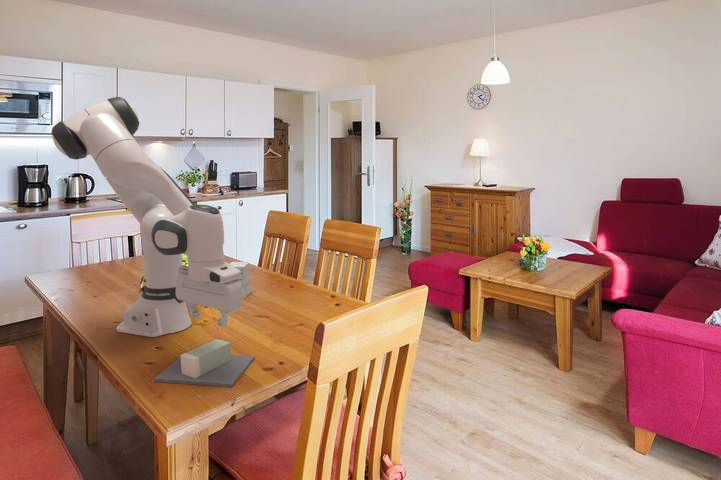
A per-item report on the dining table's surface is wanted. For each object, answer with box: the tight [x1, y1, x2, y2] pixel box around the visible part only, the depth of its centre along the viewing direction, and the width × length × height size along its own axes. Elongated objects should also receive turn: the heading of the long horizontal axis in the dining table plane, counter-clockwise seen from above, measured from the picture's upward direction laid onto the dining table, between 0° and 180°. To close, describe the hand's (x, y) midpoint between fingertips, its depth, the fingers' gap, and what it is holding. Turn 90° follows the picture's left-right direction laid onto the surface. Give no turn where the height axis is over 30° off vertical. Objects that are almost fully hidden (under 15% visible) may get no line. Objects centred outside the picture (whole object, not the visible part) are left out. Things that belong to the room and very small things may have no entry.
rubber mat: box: [154, 351, 256, 388], centre depth 123 cm, size 20×16×1 cm
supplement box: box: [229, 261, 252, 299], centre depth 184 cm, size 7×7×13 cm
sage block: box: [179, 338, 232, 378], centre depth 122 cm, size 5×5×12 cm
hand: (209, 321), depth 121 cm, fingers open, 8 cm apart
